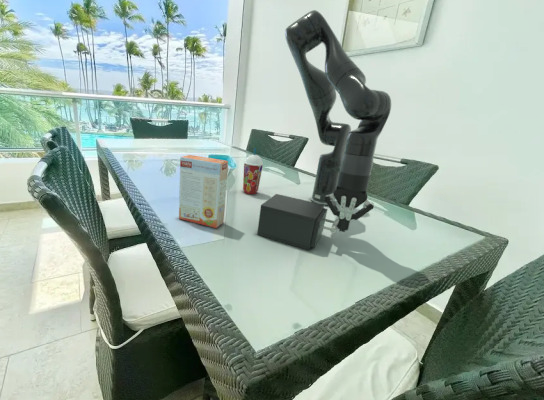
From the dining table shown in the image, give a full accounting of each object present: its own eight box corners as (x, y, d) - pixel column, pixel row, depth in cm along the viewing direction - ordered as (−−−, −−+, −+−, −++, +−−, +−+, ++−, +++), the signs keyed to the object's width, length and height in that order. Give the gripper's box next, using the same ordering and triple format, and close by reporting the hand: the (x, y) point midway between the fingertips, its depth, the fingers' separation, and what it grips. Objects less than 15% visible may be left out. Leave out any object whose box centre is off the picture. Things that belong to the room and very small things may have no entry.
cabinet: (318, 232, 88) (324, 204, 85) (309, 250, 76) (315, 218, 73) (272, 220, 95) (276, 193, 92) (257, 234, 83) (260, 204, 80)
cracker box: (224, 222, 90) (229, 160, 83) (216, 229, 85) (220, 163, 78) (187, 213, 95) (190, 153, 88) (178, 219, 90) (179, 156, 83)
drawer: (336, 235, 85) (342, 212, 82) (330, 252, 74) (336, 226, 72) (278, 220, 93) (282, 198, 90) (265, 233, 82) (268, 209, 80)
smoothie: (263, 193, 124) (268, 149, 117) (251, 196, 118) (257, 150, 111) (248, 188, 129) (253, 146, 122) (237, 191, 123) (241, 147, 116)
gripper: (326, 169, 72) (315, 229, 77) (383, 177, 66) (367, 242, 71) (330, 165, 78) (320, 221, 83) (383, 172, 72) (368, 231, 78)
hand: (342, 230), depth 77 cm, fingers closed
